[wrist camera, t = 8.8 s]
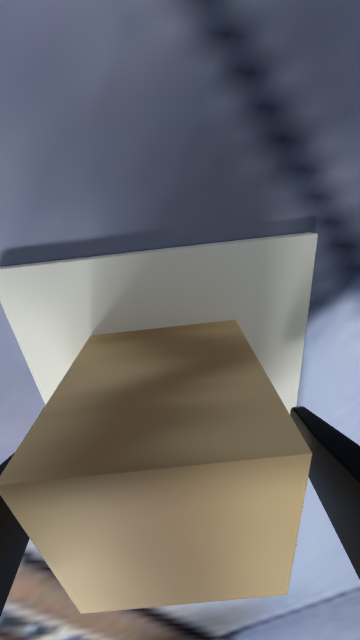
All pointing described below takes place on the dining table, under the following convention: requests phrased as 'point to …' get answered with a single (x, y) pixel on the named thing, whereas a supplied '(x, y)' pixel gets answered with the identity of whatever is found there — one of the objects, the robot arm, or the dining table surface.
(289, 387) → the cream pad
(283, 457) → the wood cube
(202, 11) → the dining table surface
